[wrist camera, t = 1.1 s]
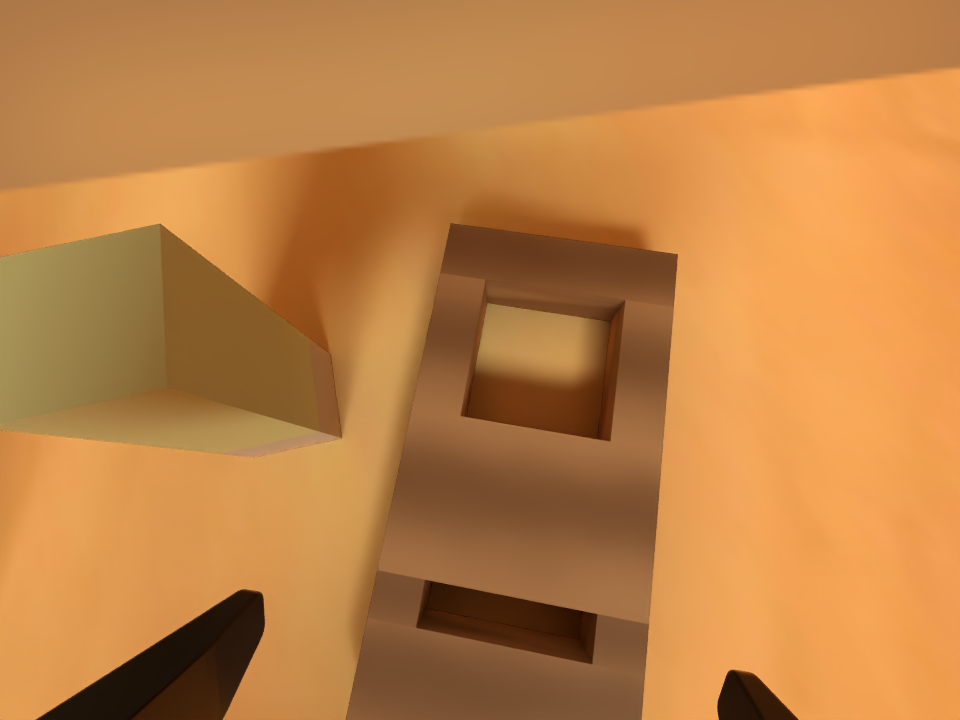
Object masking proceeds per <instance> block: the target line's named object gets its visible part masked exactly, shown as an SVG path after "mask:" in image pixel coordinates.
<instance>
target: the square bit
mask: <svg viewBox="0 0 960 720" xmlns="http://www.w3.org/2000/svg"><path fill="white" fill-rule="evenodd" d="M0 430H4V431H14V432H23V433H32V434H41V435H51V436H60V437H69V438H79V439H88V440H97V441H106V442H116V443H125V444H134V445H143V446H153V447H162V448H171V449H180V450H190V451H199V452H208V453H218V454H227V455H236V456H245V457H258V456H263V455H267V454H272V453H277V452H281V451H286V450H290V449H295V448H299V447H304V446H309V445H313V444H318V443H322V442H327V441H331V440H336V439H341V438H342V436H341V429H340V421H339V414H338V407H337V399H336V392H335V385H334V377H333V370H332V363H331V355H330V354H329V353H328V352H327V351H325V350H324V349H323V348H321V347H320V346H319V345H317V344H316V343H315V342H314V341H312V340H311V339H310V338H308V337H307V336H306V335H304V334H303V333H302V332H301V331H299V330H298V329H297V328H295V327H294V326H293V325H291V324H290V323H289V322H288V321H286V320H285V319H284V318H282V317H281V316H280V315H278V314H277V313H276V312H274V311H273V310H272V309H271V308H269V307H268V306H267V305H265V304H264V303H263V302H261V301H260V300H259V299H258V298H256V297H255V296H254V295H252V294H251V293H250V292H248V291H247V290H246V289H245V288H243V287H242V286H241V285H239V284H238V283H237V282H235V281H234V280H233V279H231V278H230V277H229V276H228V275H226V274H225V273H224V272H222V271H221V270H220V269H218V268H217V267H216V266H215V265H213V264H212V263H211V262H209V261H208V260H207V259H205V258H204V257H203V256H202V255H200V254H199V253H198V252H196V251H195V250H194V249H192V248H191V247H190V246H188V245H187V244H186V243H185V242H183V241H182V240H181V239H179V238H178V237H177V236H175V235H174V234H173V233H172V232H170V231H169V230H168V229H166V228H165V227H164V226H162V225H161V224H156V225H151V226H146V227H142V228H137V229H132V230H127V231H123V232H118V233H113V234H108V235H104V236H99V237H94V238H89V239H85V240H80V241H75V242H70V243H65V244H61V245H56V246H51V247H46V248H42V249H37V250H32V251H27V252H23V253H18V254H13V255H8V256H4V257H0Z"/></svg>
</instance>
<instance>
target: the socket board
mask: <svg viewBox="0 0 960 720" xmlns="http://www.w3.org/2000/svg"><path fill="white" fill-rule="evenodd" d="M677 258H678V254H672V253H665V252H657V251H650V250H643V249H635V248H628V247H621V246H613V245H606V244H599V243H592V242H584V241H577V240H570V239H562V238H555V237H548V236H540V235H533V234H526V233H518V232H511V231H504V230H496V229H489V228H482V227H474V226H467V225H460V224H453V223H451V225H450V229H449V234H448V239H447V244H446V248H445V253H444V258H443V263H442V267H441V272H440V277H439V281H438V286H437V291H436V296H435V300H434V305H433V310H432V315H431V319H430V324H429V329H428V333H427V338H426V343H425V348H424V352H423V357H422V362H421V366H420V371H419V376H418V381H417V385H416V390H415V395H414V400H413V404H412V409H411V414H410V418H409V423H408V428H407V433H406V437H405V442H404V447H403V452H402V456H401V461H400V466H399V470H398V475H397V480H396V485H395V489H394V494H393V499H392V503H391V508H390V513H389V518H388V522H387V527H386V532H385V537H384V541H383V546H382V551H381V555H380V560H379V565H378V570H377V574H376V579H375V584H374V588H373V593H372V598H371V603H370V607H369V612H368V617H367V622H366V626H365V631H364V636H363V640H362V645H361V650H360V655H359V659H358V664H357V669H356V674H355V678H354V683H353V688H352V692H351V697H350V702H349V707H348V711H347V716H346V720H641V719H642V706H643V693H644V680H645V667H646V655H647V642H648V629H649V616H650V604H651V591H652V578H653V565H654V552H655V540H656V527H657V514H658V501H659V488H660V476H661V463H662V450H663V437H664V424H665V412H666V399H667V386H668V373H669V360H670V348H671V335H672V322H673V309H674V296H675V284H676V271H677ZM487 303H491V304H497V305H504V306H511V307H517V308H524V309H531V310H537V311H544V312H551V313H557V314H564V315H571V316H577V317H584V318H591V319H598V320H604V321H611V323H610V332H609V341H608V350H607V359H606V368H605V377H604V386H603V395H602V403H601V412H600V421H599V430H598V439H592V438H586V437H580V436H574V435H569V434H563V433H557V432H551V431H545V430H539V429H533V428H527V427H521V426H516V425H510V424H504V423H498V422H492V421H486V420H480V419H474V418H468V417H466V416H467V410H468V405H469V399H470V394H471V388H472V383H473V377H474V372H475V366H476V361H477V355H478V350H479V344H480V339H481V333H482V328H483V322H484V317H485V311H486V306H487ZM432 581H435V582H440V583H445V584H450V585H455V586H460V587H465V588H470V589H475V590H480V591H485V592H490V593H495V594H500V595H505V596H510V597H515V598H520V599H525V600H530V601H535V602H540V603H545V604H550V605H555V606H560V607H565V608H570V609H575V610H580V611H583V613H582V622H581V631H580V640H578V639H573V638H568V637H563V636H558V635H554V634H549V633H544V632H539V631H534V630H529V629H524V628H519V627H514V626H510V625H505V624H500V623H495V622H490V621H485V620H480V619H475V618H470V617H465V616H461V615H456V614H451V613H446V612H441V611H436V610H431V609H427V605H428V600H429V595H430V589H431V584H432Z"/></svg>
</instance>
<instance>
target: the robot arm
mask: <svg viewBox="0 0 960 720" xmlns="http://www.w3.org/2000/svg"><path fill="white" fill-rule="evenodd" d="M264 627H265V616H264V599H263V595H262V593H261V592H258V591H252V590H246V589H243V590H239V591H237V592H236V593H234V594H233V595H231V596H229V597H228V598H226V599H225V600H223V601H222V602H220V603H218V604H217V605H215V606H214V607H212V608H211V609H209V610H207V611H206V612H204V613H203V614H201V615H200V616H198V617H196V618H195V619H193V620H192V621H190V622H189V623H187V624H185V625H184V626H182V627H181V628H179V629H178V630H176V631H174V632H173V633H171V634H170V635H168V636H167V637H165V638H163V639H162V640H160V641H159V642H157V643H156V644H154V645H152V646H151V647H149V648H148V649H146V650H145V651H143V652H141V653H140V654H138V655H137V656H135V657H134V658H132V659H130V660H129V661H127V662H126V663H124V664H122V665H121V666H119V667H118V668H116V669H115V670H113V671H111V672H110V673H108V674H107V675H105V676H104V677H102V678H100V679H99V680H97V681H96V682H94V683H93V684H91V685H89V686H88V687H86V688H85V689H83V690H82V691H80V692H78V693H77V694H75V695H74V696H72V697H71V698H69V699H67V700H66V701H64V702H63V703H61V704H60V705H58V706H56V707H55V708H53V709H52V710H50V711H49V712H47V713H45V714H44V715H42V716H41V717H39V718H38V719H36V720H223V718H224V716H225V714H226V712H227V710H228V708H229V706H230V704H231V702H232V699H233V697H234V695H235V693H236V691H237V689H238V687H239V684H240V682H241V680H242V678H243V676H244V674H245V672H246V669H247V667H248V665H249V663H250V661H251V659H252V657H253V654H254V652H255V650H256V648H257V646H258V644H259V642H260V640H261V637H262V635H263V632H264ZM717 710H718V717H719V720H799V719H798V718H797V717H796V716H795V715H794V714H793V713H792V712H791V711H790V710H789V709H788V708H787V707H786V706H785V705H784V704H783V703H782V702H781V701H780V700H779V699H778V698H777V697H776V695H775V694H774V693H773V692H772V691H771V690H770V689H769V688H768V687H767V686H766V685H765V684H764V683H763V682H762V681H761V680H760V679H759V678H758V677H757V676H756V675H754V674H753V673H750V672H745V671H739V670H730V671H729V672H728V673H727V675H726V678H725V681H724V684H723V687H722V690H721V693H720V696H719V699H718V705H717Z"/></svg>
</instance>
